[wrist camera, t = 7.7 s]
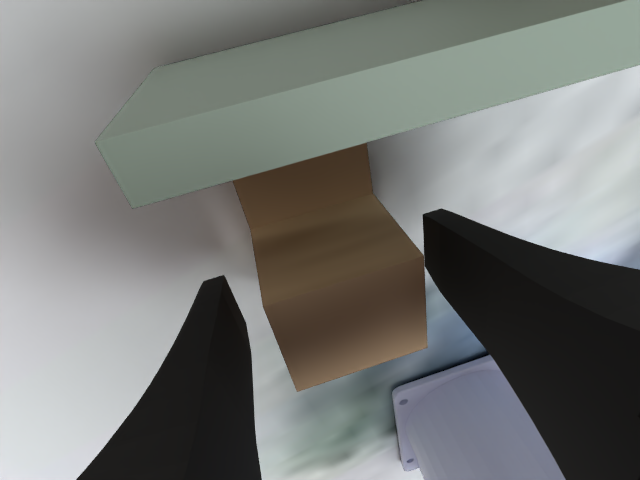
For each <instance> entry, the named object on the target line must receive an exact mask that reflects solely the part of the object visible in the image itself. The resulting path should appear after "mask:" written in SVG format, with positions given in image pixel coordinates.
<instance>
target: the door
mask: <svg viewBox="0 0 640 480" xmlns="http://www.w3.org/2000/svg"><path fill="white" fill-rule="evenodd" d="M638 65H640V0H422V1H418V2H414V3H410V4H406V5H402V6H398V7H394V8H390V9H386V10H382V11H378V12H374V13H370V14H366V15H362V16H358V17H354V18H350V19H347V20H343V21H339V22H335V23H331V24H327V25H323V26H319V27H315V28H311V29H307V30H303V31H299V32H295V33H291V34H287V35H283V36H279V37H275V38H271V39H267V40H263V41H259V42H255V43H251V44H248V45H244V46H240V47H236V48H232V49H228V50H224V51H220V52H216V53H212V54H208V55H204V56H200V57H196V58H192V59H188V60H184V61H180V62H176V63H172V64H168V65H164V66H160V67H156V68H154V69H153V70H152V72H151V73H150V74H149V75H148V77H147V78H146V79H145V80H144V81H143V83H142V84H141V85H140V86H139V88H138V89H137V90H136V91H135V93H134V94H133V95H132V96H131V98H130V99H129V100H128V101H127V102H126V104H125V105H124V106H123V107H122V109H121V110H120V111H119V112H118V114H117V115H116V116H115V117H114V119H113V120H112V121H111V122H110V123H109V125H108V126H107V127H106V128H105V130H104V131H103V132H102V133H101V135H100V136H99V137H98V138H97V140H96V141H95V144H96V146H97V147H98V149H99V151H100V153H101V155H102V156H103V158H104V160H105V162H106V163H107V165H108V167H109V169H110V170H111V172H112V174H113V176H114V177H115V179H116V181H117V183H118V185H119V186H120V188H121V190H122V192H123V193H124V195H125V197H126V199H127V200H128V202H129V204H130V206H131V207H132V209H134V208H138V207H141V206H145V205H148V204H152V203H155V202H159V201H162V200H166V199H169V198H173V197H176V196H180V195H183V194H187V193H190V192H194V191H197V190H201V189H204V188H208V187H212V186H215V185H219V184H222V183H226V182H229V181H233V180H236V179H240V178H243V177H247V176H250V175H254V174H257V173H261V172H264V171H268V170H271V169H275V168H278V167H282V166H286V165H289V164H293V163H296V162H300V161H303V160H307V159H310V158H314V157H317V156H321V155H324V154H328V153H331V152H335V151H338V150H342V149H345V148H349V147H352V146H356V145H360V144H363V143H367V142H370V141H374V140H377V139H381V138H384V137H388V136H391V135H395V134H398V133H402V132H405V131H409V130H412V129H416V128H419V127H423V126H426V125H430V124H434V123H437V122H441V121H444V120H448V119H451V118H455V117H458V116H462V115H465V114H469V113H472V112H476V111H479V110H483V109H486V108H490V107H493V106H497V105H500V104H504V103H508V102H511V101H515V100H518V99H522V98H525V97H529V96H532V95H536V94H539V93H543V92H546V91H550V90H553V89H557V88H560V87H564V86H567V85H571V84H574V83H578V82H582V81H585V80H589V79H592V78H596V77H599V76H603V75H606V74H610V73H613V72H617V71H620V70H624V69H627V68H631V67H634V66H638Z"/></svg>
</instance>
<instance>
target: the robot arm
mask: <svg viewBox="0 0 640 480" xmlns="http://www.w3.org/2000/svg"><path fill="white" fill-rule="evenodd" d="M423 233H424V258H425V267H426V269H427V270H428V272H429V274H430V276H431V277H432V279H433V281H434V282H435V284H436V286H437V287H438V289H439V291H440V292H441V293H442V295H443V296H444V297H445V298H446V300H447V301H448V302H449V304H450V305H451V306H452V307H453V309H454V310H455V311H456V312H457V314H458V315H459V316H460V317H461V319H462V320H463V321H464V322H465V324H466V325H467V326H468V327H469V328H470V330H471V331H472V332H473V333H474V335H475V336H476V337H477V338H478V340H479V341H480V342H481V343H482V345H483V346H484V347H485V349H486V350H487V351H488V353H489V354H490V355H488V356H485V357H482V358H479V359H476V360H474V361H471V362H468V363H465V364H462V365H459V366H456V367H453V368H450V369H448V370H445V371H442V372H439V373H436V374H433V375H430V376H427V377H424V378H421V379H419V380H416V381H413V382H410V383H407V384H404V385H401V386H399V387H397V388H395V389H394V390H393V392H392V399H393V406H394V413H395V420H396V427H397V434H398V441H399V448H400V455H401V462H402V466H403V469H404V470H405V471H411V470H414V469H417V468H420V471H421V473H422V475H423V477H424V480H640V270H638V269H633V268H628V267H623V266H618V265H613V264H608V263H603V262H599V261H594V260H590V259H586V258H582V257H578V256H574V255H571V254H567V253H563V252H559V251H556V250H553V249H549V248H546V247H543V246H540V245H537V244H534V243H531V242H528V241H525V240H522V239H519V238H516V237H513V236H511V235H508V234H505V233H503V232H500V231H498V230H495V229H492V228H490V227H487V226H485V225H482V224H480V223H477V222H475V221H473V220H470V219H468V218H465V217H463V216H460V215H458V214H455V213H453V212H450V211H447V210H444V209H438V210H435V211H432V212H429V213H425V214H423ZM76 480H262V478H261V472H260V465H259V458H258V451H257V444H256V434H255V421H254V400H253V378H252V359H251V349H250V343H249V337H248V332H247V326H246V322H245V320H244V318H243V315H242V313H241V311H240V309H239V307H238V304H237V302H236V300H235V298H234V296H233V293H232V291H231V289H230V287H229V285H228V282H227V280H226V278H225V276H224V275H222V276H219V277H216V278H213V279H209V280H206V281H203V283H202V285H201V287H200V289H199V291H198V294H197V296H196V298H195V300H194V303H193V305H192V307H191V309H190V311H189V313H188V316H187V318H186V320H185V322H184V324H183V326H182V328H181V330H180V332H179V334H178V336H177V338H176V340H175V342H174V344H173V346H172V348H171V349H170V351H169V353H168V355H167V356H166V358H165V360H164V362H163V364H162V365H161V367H160V369H159V371H158V372H157V374H156V376H155V377H154V379H153V380H152V382H151V384H150V385H149V387H148V388H147V390H146V391H145V393H144V394H143V396H142V397H141V399H140V400H139V402H138V403H137V405H136V406H135V407H134V409H133V410H132V412H131V413H130V414H129V416H128V417H127V418H126V419H125V421H124V422H123V423H122V425H121V426H120V427H119V429H118V430H117V431H116V432H115V434H114V435H113V436H112V438H111V439H110V440H109V441H108V443H107V444H106V445H105V447H104V448H103V449H102V450H101V452H100V453H99V454H98V455H97V456H96V457H95V459H94V460H93V461H92V462H91V463H90V465H89V466H88V467H87V468H86V469H85V470H84V472H83V473H82V474H81V475H80V476H79V477H78V478H77V479H76Z"/></svg>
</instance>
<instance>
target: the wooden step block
mask: <svg viewBox="0 0 640 480" xmlns="http://www.w3.org/2000/svg"><path fill="white" fill-rule="evenodd" d="M233 183H234V186H235V189H236V192H237V194H238V197H239V200H240V203H241V205H242V208H243V211H244V213H245V216H246V219H247V222H248V224H249V227H250V230H251V236H252V242H253V248H254V255H255V261H256V267H257V273H258V279H259V285H260V291H261V298H262V304H263V308H264V310H265V313H266V315H267V318H268V320H269V323H270V325H271V328H272V330H273V333H274V335H275V338H276V340H277V343H278V345H279V348H280V350H281V353H282V355H283V358H284V360H285V363H286V365H287V368H288V370H289V373H290V375H291V378H292V380H293V383H294V385H295V388H296V390H297V392H298V391H301V390H304V389H307V388H310V387H313V386H316V385H319V384H322V383H325V382H328V381H331V380H334V379H337V378H340V377H343V376H346V375H348V374H351V373H354V372H357V371H360V370H363V369H366V368H369V367H372V366H375V365H378V364H381V363H384V362H387V361H390V360H393V359H396V358H399V357H402V356H405V355H408V354H411V353H413V352H416V351H419V350H422V349H425V348H428V346H427V321H426V296H425V271H424V255H423V254H422V253H421V252H420V250H419V249H418V248H417V247H416V246H415V244H414V243H413V242H412V241H411V239H410V238H409V237H408V236H407V234H406V233H405V232H404V231H403V230H402V228H401V227H400V226H399V225H398V223H397V222H396V221H395V220H394V219H393V217H392V216H391V215H390V214H389V212H388V211H387V210H386V209H385V207H384V206H383V205H382V204H381V203H380V201H379V200H378V199H377V198H376V196H375V195H374V194H373V190H372V182H371V174H370V166H369V158H368V150H367V143H363V144H360V145H356V146H352V147H349V148H345V149H342V150H338V151H335V152H331V153H328V154H324V155H321V156H317V157H314V158H310V159H307V160H303V161H300V162H296V163H293V164H289V165H286V166H282V167H278V168H275V169H271V170H268V171H264V172H261V173H257V174H254V175H250V176H247V177H243V178H240V179H236V180H233Z"/></svg>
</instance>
